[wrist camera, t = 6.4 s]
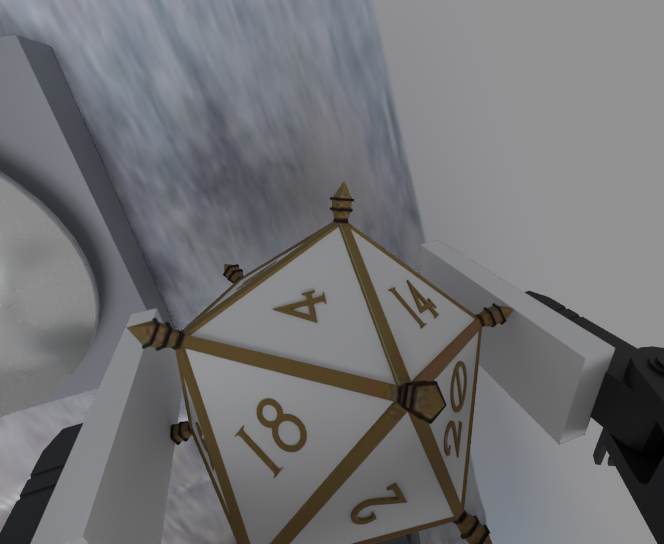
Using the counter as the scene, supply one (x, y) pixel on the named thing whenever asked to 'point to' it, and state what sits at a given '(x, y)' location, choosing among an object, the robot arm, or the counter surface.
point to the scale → (72, 196)
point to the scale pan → (40, 299)
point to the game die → (332, 393)
